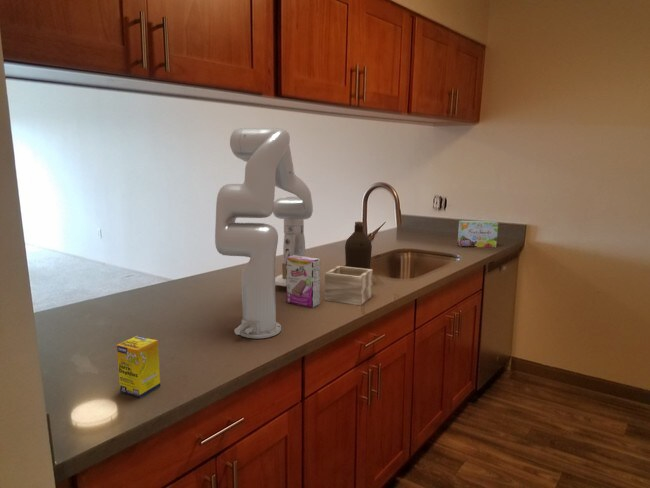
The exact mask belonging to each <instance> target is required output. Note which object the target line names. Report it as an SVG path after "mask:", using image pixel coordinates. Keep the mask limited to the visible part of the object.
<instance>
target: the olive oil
mask: <svg viewBox="0 0 650 488" xmlns="http://www.w3.org/2000/svg"><path fill="white" fill-rule="evenodd" d="M363 224H364V222H363V221H355V222H354V232H352V233H351V235H350V236H348V238H347V239H346V242H345V245H344V255H345V256H344V257H345V266H346V267H355V268H364V269H371V264H372V263H371V262H372V261H371V260H372V250H373V246H372V241H371V240H370V238H369V237H368V236H367V234H366V233H365V231H364V225H363Z"/></svg>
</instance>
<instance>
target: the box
mask: <svg viewBox="0 0 650 488" xmlns="http://www.w3.org/2000/svg"><path fill="white" fill-rule="evenodd" d="M373 271H374V270H373V269H372V268H370V269H364V268H355V267H346V265H344V266H343V265H337V266H335V267H334V268H332V269H330V270H328V271H326V272H325V273H324V301H328V302H334V303H339V304H340V303H341V304H347V305H355V306H361V305H363V304H364V303H366V302H367V301H368V300H369V299H370V298H371V297H373V274H374V273H373Z"/></svg>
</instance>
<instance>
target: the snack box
mask: <svg viewBox="0 0 650 488" xmlns="http://www.w3.org/2000/svg"><path fill="white" fill-rule="evenodd" d="M457 229H458V231H457V232H458V233H457V242H456V243H457V244H456V245H457V246H458V245H459V246H477V247H476V248H493V247H495V248H497V242H498V230H499V222H498V221H495V220H458V228H457ZM459 246H458V247H459Z"/></svg>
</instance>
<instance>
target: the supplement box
mask: <svg viewBox="0 0 650 488" xmlns="http://www.w3.org/2000/svg"><path fill="white" fill-rule="evenodd" d="M116 354H117V355H116V356H117V368H118V381H119V392H120V393H122V394H127V395H130V396H133V397H136V398H139V399H142V398H144V397H145V396H146V395H148V394H149V393H152V391H154V390H157V389H158V388H159V387H161V374H160V355H159V340H157V339H151V338H148V337H143V336H140V335H136V336H133V337H131V338H129V339H127V340H123V341H122V342H120V343H118V344H116Z"/></svg>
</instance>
